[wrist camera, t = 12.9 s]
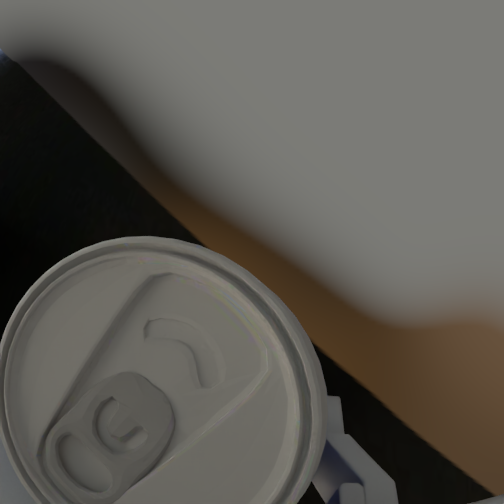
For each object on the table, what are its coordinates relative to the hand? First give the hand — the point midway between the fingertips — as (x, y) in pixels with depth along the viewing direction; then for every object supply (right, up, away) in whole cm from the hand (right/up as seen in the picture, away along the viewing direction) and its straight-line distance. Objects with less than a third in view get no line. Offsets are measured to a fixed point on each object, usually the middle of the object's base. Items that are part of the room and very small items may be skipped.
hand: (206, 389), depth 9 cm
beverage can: (0, -4, +7) cm, 9 cm away
